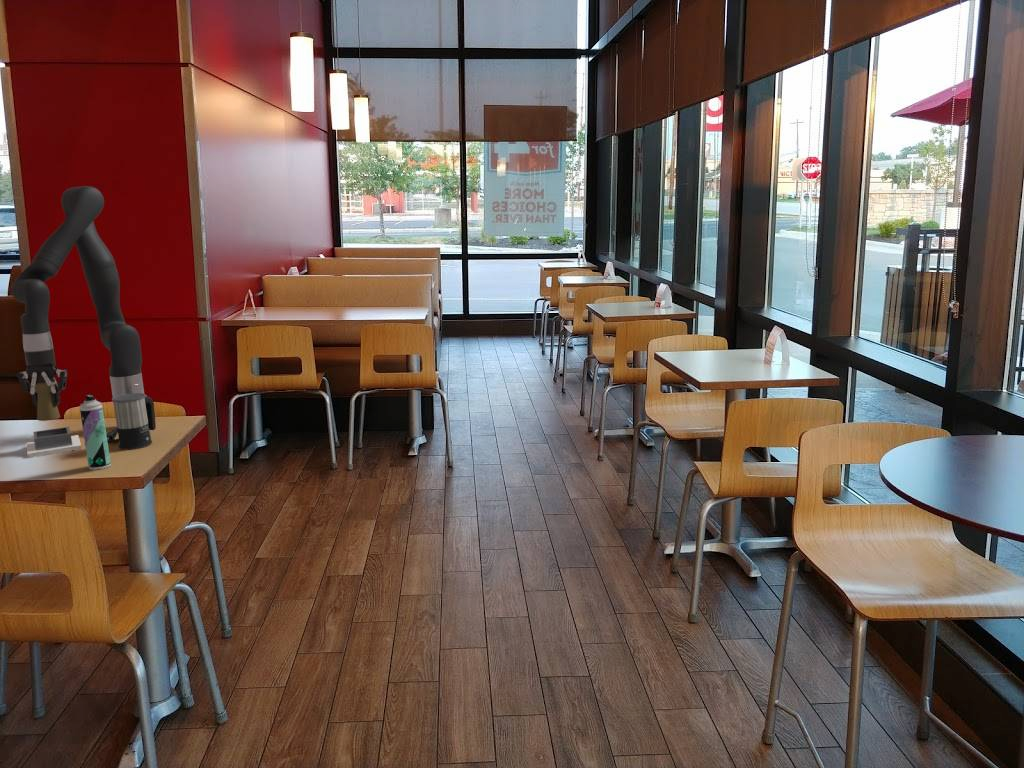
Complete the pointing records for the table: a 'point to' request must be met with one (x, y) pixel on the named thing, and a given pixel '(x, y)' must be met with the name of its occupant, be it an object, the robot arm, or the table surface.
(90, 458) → the spray can
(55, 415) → the cork
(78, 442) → the socket base
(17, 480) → the table surface
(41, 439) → the socket collar
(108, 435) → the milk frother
